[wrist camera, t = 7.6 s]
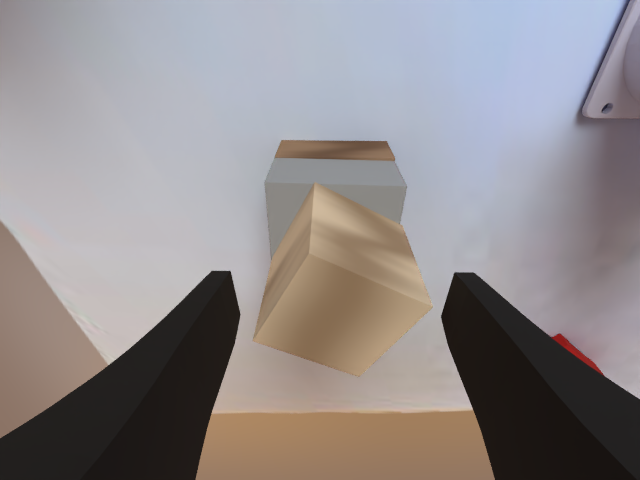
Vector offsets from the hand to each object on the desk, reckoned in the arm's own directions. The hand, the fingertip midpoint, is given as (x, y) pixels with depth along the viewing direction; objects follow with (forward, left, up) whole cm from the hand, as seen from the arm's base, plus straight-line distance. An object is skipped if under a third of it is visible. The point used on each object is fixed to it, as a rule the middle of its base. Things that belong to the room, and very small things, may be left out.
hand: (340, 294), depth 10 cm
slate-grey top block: (0, +1, -8) cm, 8 cm away
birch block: (0, +1, -5) cm, 5 cm away
